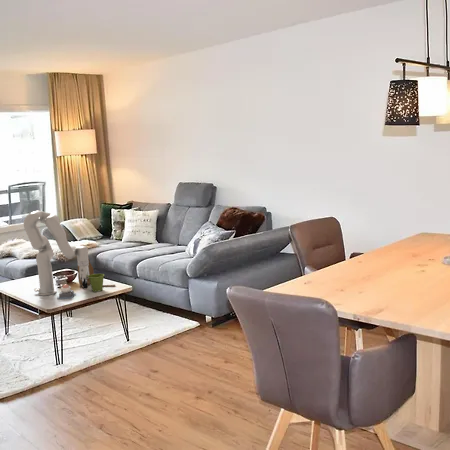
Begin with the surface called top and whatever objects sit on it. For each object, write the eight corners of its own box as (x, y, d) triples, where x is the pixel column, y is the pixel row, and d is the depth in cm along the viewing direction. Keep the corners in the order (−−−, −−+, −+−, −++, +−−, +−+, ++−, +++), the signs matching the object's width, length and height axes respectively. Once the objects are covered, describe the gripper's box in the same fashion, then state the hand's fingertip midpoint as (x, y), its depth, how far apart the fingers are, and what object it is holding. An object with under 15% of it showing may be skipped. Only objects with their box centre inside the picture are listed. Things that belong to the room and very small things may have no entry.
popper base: (57, 299, 377) (57, 294, 376) (61, 295, 387) (61, 290, 386) (72, 298, 377) (71, 293, 376) (75, 294, 387) (75, 289, 386)
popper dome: (60, 296, 378) (59, 285, 377) (63, 294, 385) (62, 283, 384) (69, 296, 378) (68, 285, 377) (72, 293, 385) (71, 282, 384)
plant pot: (109, 289, 397) (107, 274, 395) (97, 293, 387) (95, 278, 385) (97, 287, 403) (96, 272, 401) (85, 291, 393) (84, 276, 392)
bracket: (94, 287, 403) (94, 286, 403) (95, 286, 406) (95, 285, 405) (114, 286, 403) (114, 285, 403) (115, 285, 406) (115, 284, 406)
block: (82, 286, 407) (80, 260, 404) (78, 285, 413) (75, 259, 410) (95, 284, 414) (93, 258, 411) (91, 282, 420) (88, 257, 417)
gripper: (86, 265, 384) (88, 290, 387) (90, 260, 399) (92, 285, 402) (75, 265, 384) (77, 291, 387) (80, 261, 399) (82, 285, 402)
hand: (85, 288), depth 394 cm, fingers closed
